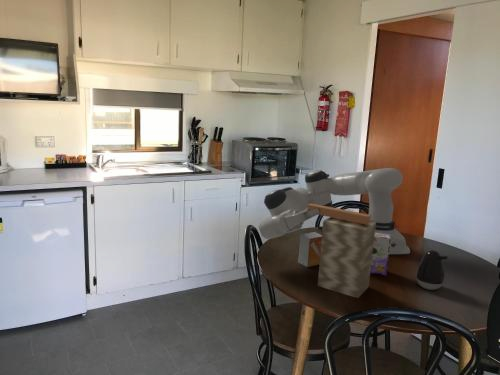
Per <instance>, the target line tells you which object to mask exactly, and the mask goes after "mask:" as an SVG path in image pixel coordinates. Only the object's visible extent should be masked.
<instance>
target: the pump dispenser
mask: <svg viewBox="0 0 500 375" xmlns="http://www.w3.org/2000/svg"><path fill="white" fill-rule="evenodd" d="M447 259H449V258H448V256H447V255H441V254H440V253H439V252H438V251H437V250H435V249H429V250H427V252H425V254H424V255H423V256H422V258H421V259H420V261H419V263H418V266H417V269H416V272H415V277H416V278H415V279H416V281H417V283H418V285H419V286H420V287H422V288H423V289H425V290H429V291H434V290H438V289H440V288H441V287H442V286H443V284H444V282H445V266H444V262H443V260H447Z"/></svg>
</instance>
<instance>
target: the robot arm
mask: <svg viewBox="0 0 500 375" xmlns="http://www.w3.org/2000/svg"><path fill="white" fill-rule="evenodd" d="M403 178H404V177H403V174H402V172H401V171H400V170H398V169H397V168H393V167H386V168H385V167H384V168H378V169H377V168H376V169H369V170H363V171H355V172H347V173H342V174H336V175H333V176H331V177H330V174H329V173H326V171H324V170H321V169H312V170H311V171H309V172H307V173H306V174H305V175H304V182H305V186H306V188H305V187H297V188H295V189H294V188H293V187H291V186H290V187H289V186H288V187H284V188H281V189H280V188H279V189H274V190H272V191H270V192H269V193H267V194H266V195H265V197H264V200H263V203H264V206H266V208H267V211H269V213H270V215H271V216H270V217H268V218H266V219H264V220H263V221H261V222H260V223H259V225H258V230H259V232H260V235H261V236H262V237H263V238H264V239H266V240H271V239H275V238H276V239H277V238H278V237H282V236H285V235H287V234H291V233H293V232H295V231H298V230H301V229H302V227H303V225H304V223H305V222H306V221H308V220H310V219H312V218H314V217H316V216H318V214H317V213H319V212H320V209H319V208H317V209H314V210H311V211H308V210H307V205H308V204H310V203H312V204H317V205H322V206H327V207H332V208H333V200H332V196H333V195H334V196H355V195H357V196H358V195H368V199H369V201H368V204H369V206H368V213H367V214H368V215H371V217H370V221H372V222H376V227H375V233H382V234H391V240H390V250H389V255H409V254H410V253H411V249H410V248H409V246H408V245H407V242H406V238H405V237H404V235H402V234H401V233H400V232H399V231H398V230H397V229H399V227H400V226H399V224H398V223H396V222H395V221H393V213H394V207H395V206H394V204H393V200H392V191H394V190H397V189H398V188H399V187H400V186H401V184H402V183H403V180H404V179H403ZM307 211H308V212H307Z"/></svg>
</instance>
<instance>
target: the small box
mask: <svg viewBox="0 0 500 375" xmlns="http://www.w3.org/2000/svg"><path fill="white" fill-rule="evenodd" d="M321 242H322V234H320V233H318V232H316V231H312V232H305V233H301V234H300V235H299V249H298V259H297V260H298V261H297V263H298V264H301V265H302V266H304V267H306V268H309V267H314V266H317V265H320V253H321Z"/></svg>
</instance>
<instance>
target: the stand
mask: <svg viewBox="0 0 500 375" xmlns="http://www.w3.org/2000/svg"><path fill="white" fill-rule="evenodd" d="M375 227H376V222H372V221H370V223H369V224H368V225H366V224H361V223H356V222H352V221H347V220H342V219H337V218H333V217H328V218H326V219H324V220H323V221H322V230H321V232H322V233H321V235H322V242H321V253H320V264H319V267H318V278H317V286H318V287H320V288H323V289H327V290H329V291H333V292H336V293H340V294H343V295H346V296H348V297H349V296H350V297H353V298H356V299H359V298H360V297H361V296H362V295H363V293H365V292H366V290H367V289H368V288H369V286H370V281H371V280H370V278H371V273H370V271H371V262H372V254H373V245H374V236H375Z"/></svg>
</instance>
